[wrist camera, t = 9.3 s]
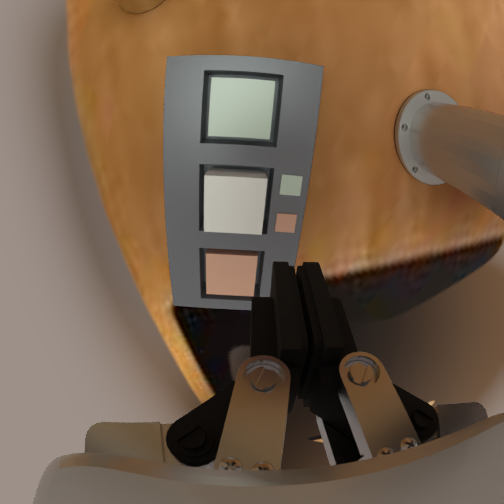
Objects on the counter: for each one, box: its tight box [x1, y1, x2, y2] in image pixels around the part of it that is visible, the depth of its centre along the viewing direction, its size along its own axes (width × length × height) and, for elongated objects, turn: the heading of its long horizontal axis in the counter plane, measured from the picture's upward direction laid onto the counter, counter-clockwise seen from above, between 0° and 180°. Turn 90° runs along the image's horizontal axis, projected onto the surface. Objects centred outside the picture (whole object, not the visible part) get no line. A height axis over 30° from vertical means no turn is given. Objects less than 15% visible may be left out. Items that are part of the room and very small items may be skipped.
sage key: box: [208, 77, 275, 140], centre depth 23 cm, size 6×6×3 cm
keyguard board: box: [163, 55, 324, 310], centre depth 28 cm, size 14×28×5 cm, turn 176°
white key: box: [204, 168, 268, 235], centre depth 27 cm, size 6×6×3 cm
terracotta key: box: [206, 248, 258, 296], centre depth 32 cm, size 6×6×3 cm
